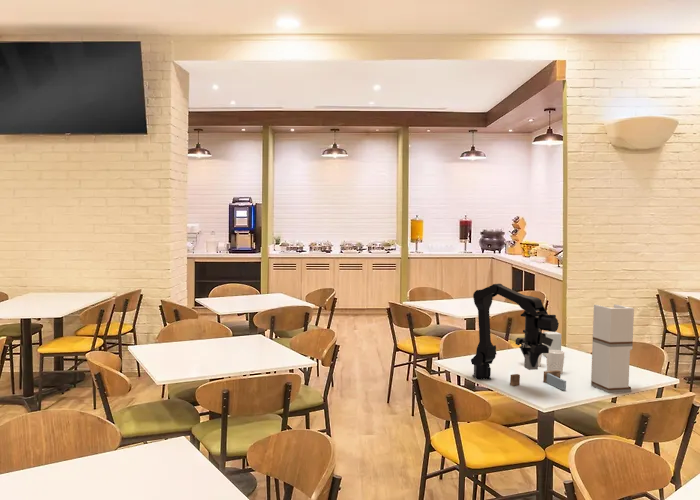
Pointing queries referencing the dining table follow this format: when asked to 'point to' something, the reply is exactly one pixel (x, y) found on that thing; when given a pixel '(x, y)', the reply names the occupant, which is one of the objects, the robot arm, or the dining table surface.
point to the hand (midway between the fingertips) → (531, 365)
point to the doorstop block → (529, 363)
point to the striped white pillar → (612, 348)
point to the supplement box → (554, 341)
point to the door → (556, 382)
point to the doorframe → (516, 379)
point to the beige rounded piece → (555, 360)
